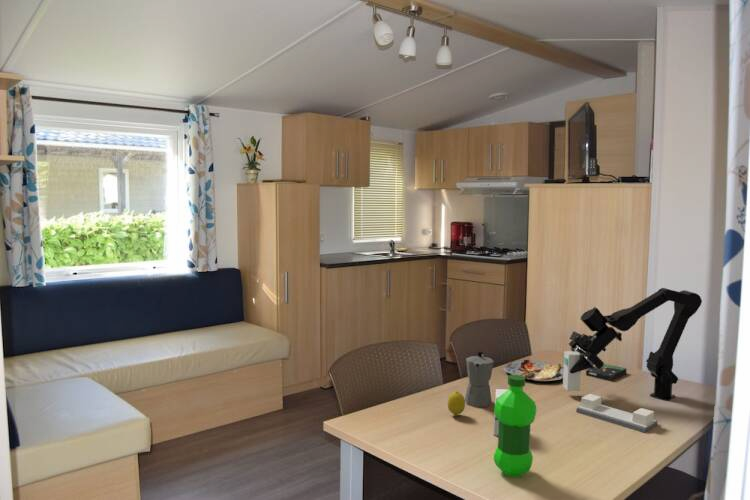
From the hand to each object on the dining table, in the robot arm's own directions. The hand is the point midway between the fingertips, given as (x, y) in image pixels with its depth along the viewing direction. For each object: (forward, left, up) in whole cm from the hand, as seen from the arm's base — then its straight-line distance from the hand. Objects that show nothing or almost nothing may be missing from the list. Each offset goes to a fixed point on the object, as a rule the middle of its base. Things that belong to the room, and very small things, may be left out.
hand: (568, 370), depth 206 cm
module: (-1, +1, -7) cm, 7 cm away
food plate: (-14, -21, -10) cm, 27 cm away
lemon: (+45, -14, -9) cm, 48 cm away
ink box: (+44, +3, -10) cm, 45 cm away
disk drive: (-36, -2, -10) cm, 37 cm away
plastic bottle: (+64, +20, -9) cm, 68 cm away
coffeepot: (+29, -17, -9) cm, 35 cm away
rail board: (+7, +21, -9) cm, 24 cm away
